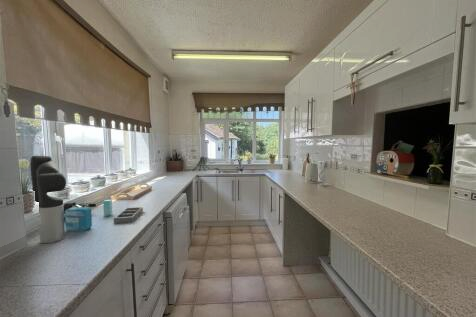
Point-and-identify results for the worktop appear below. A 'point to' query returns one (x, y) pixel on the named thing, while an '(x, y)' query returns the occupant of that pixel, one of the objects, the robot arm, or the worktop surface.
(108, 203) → the brushed teal metal block
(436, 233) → the worktop surface
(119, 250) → the worktop surface
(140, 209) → the slot rack
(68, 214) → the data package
